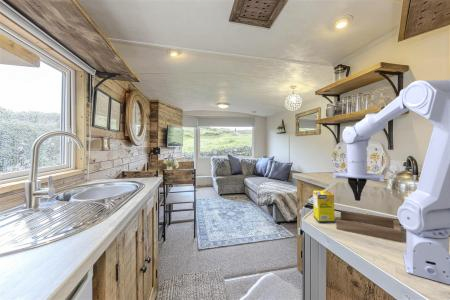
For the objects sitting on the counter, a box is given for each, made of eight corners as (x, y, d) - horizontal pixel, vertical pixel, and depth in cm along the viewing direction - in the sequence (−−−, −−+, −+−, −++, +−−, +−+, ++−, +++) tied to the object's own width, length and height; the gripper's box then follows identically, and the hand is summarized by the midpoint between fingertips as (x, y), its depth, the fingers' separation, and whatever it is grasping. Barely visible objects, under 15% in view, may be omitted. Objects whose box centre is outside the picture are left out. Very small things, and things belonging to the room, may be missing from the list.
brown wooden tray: (401, 242, 59) (401, 232, 59) (336, 229, 70) (336, 220, 69) (398, 227, 68) (398, 219, 68) (341, 217, 78) (341, 210, 78)
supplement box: (335, 223, 74) (334, 194, 73) (318, 223, 75) (317, 194, 74) (329, 216, 80) (328, 190, 79) (313, 216, 81) (312, 190, 80)
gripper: (383, 160, 67) (384, 199, 68) (335, 159, 76) (336, 194, 77) (383, 163, 62) (384, 205, 63) (331, 162, 71) (332, 199, 72)
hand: (357, 199), depth 70 cm, fingers closed
